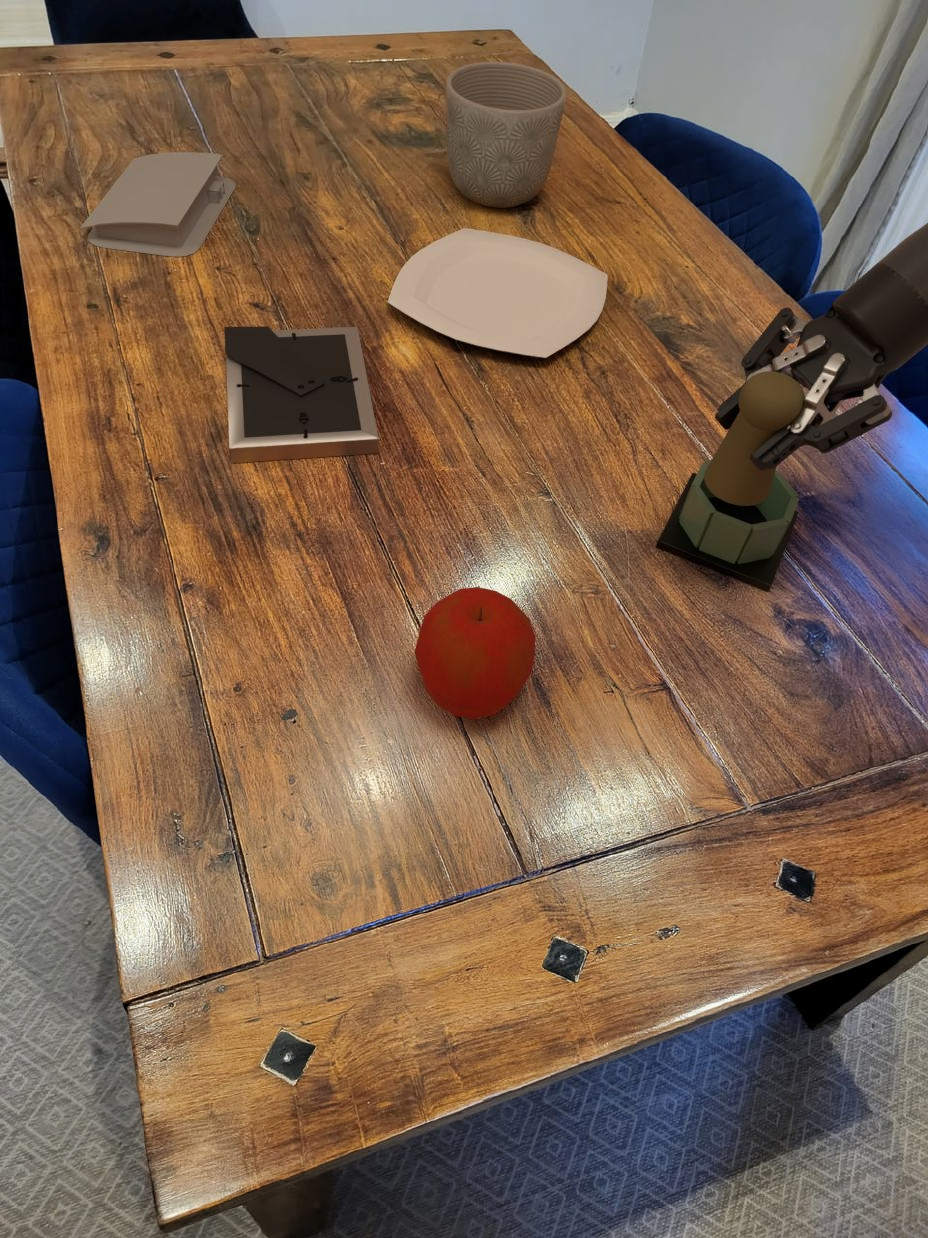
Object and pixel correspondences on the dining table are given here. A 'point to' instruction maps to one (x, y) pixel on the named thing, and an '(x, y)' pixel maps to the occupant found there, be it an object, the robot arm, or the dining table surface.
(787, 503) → the cup holder
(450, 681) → the apple
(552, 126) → the planter
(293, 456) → the face-down photo frame
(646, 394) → the dining table surface
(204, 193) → the book
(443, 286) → the plate
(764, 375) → the cork
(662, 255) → the dining table surface
